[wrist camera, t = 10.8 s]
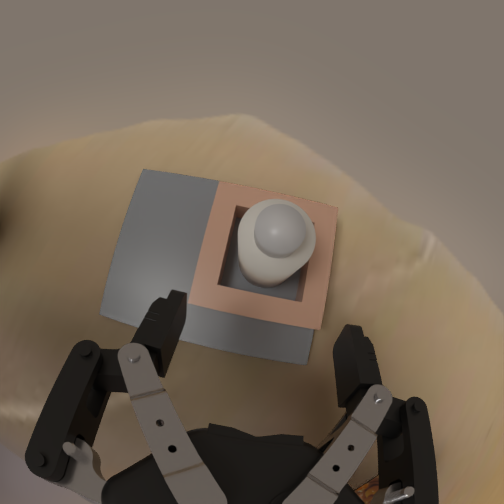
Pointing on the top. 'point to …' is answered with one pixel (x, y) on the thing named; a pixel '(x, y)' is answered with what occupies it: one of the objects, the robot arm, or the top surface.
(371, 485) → the candy box
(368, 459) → the top surface
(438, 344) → the top surface
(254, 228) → the connector plug
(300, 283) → the holder
